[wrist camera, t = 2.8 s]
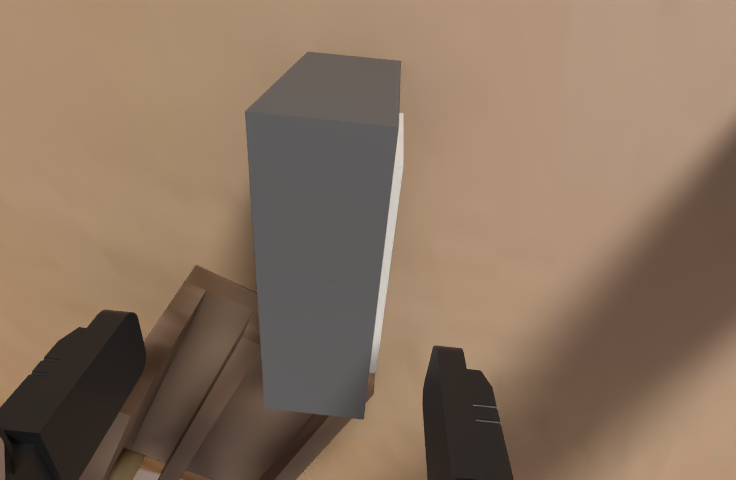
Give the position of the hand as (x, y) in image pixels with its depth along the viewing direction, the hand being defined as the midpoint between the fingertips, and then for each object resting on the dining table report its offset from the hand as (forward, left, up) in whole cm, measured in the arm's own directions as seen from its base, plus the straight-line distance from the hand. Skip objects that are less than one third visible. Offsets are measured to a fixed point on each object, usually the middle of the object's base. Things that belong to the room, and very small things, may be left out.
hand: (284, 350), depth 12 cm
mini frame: (-1, 0, -12) cm, 12 cm away
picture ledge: (-2, +18, -12) cm, 22 cm away
